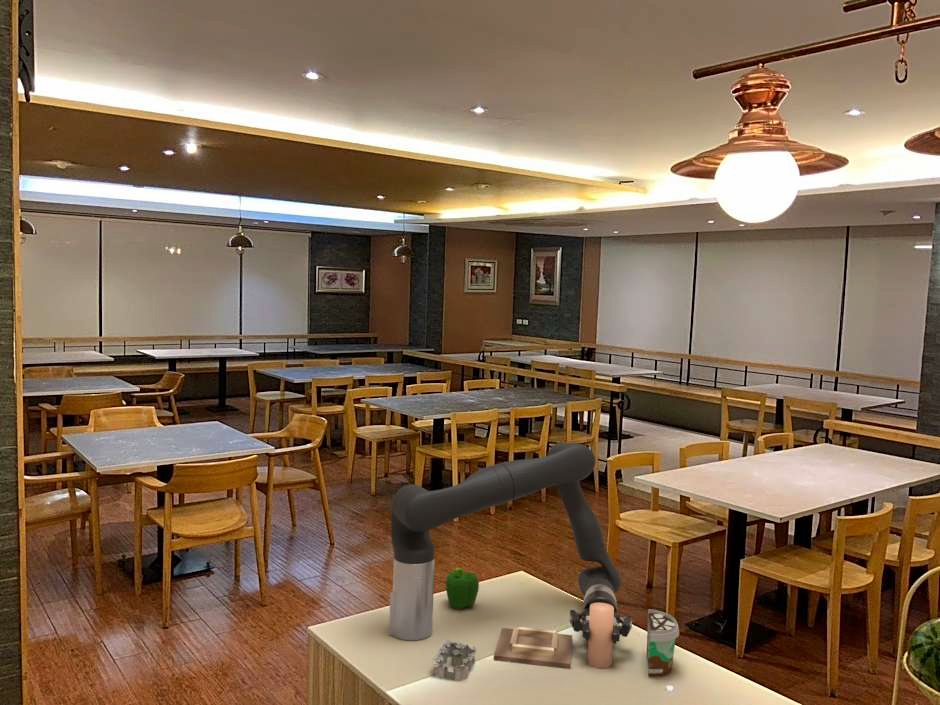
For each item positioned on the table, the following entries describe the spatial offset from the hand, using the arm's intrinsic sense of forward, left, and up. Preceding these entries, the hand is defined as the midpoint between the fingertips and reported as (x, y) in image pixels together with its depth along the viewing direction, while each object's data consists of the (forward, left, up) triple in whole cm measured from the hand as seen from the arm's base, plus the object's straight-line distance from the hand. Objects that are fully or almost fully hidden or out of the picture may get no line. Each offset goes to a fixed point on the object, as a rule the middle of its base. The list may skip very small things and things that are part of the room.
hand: (601, 637), depth 151 cm
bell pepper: (-34, +26, -7) cm, 43 cm away
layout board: (-14, +6, -7) cm, 17 cm away
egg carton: (-30, -6, -7) cm, 31 cm away
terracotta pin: (0, +3, -7) cm, 7 cm away
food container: (+13, +4, -7) cm, 15 cm away
